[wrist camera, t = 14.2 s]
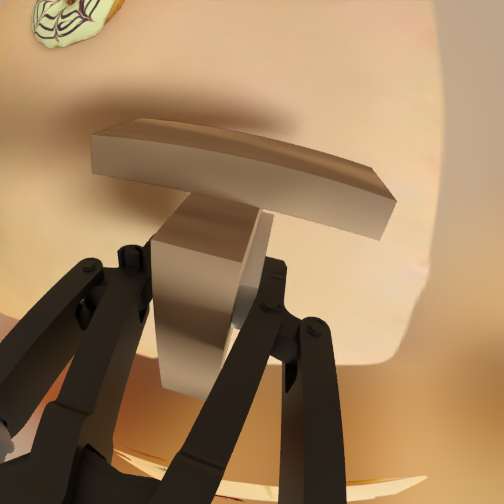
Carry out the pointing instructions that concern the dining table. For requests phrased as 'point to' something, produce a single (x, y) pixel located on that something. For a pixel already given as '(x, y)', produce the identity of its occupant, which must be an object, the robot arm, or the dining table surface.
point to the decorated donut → (70, 20)
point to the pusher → (225, 223)
